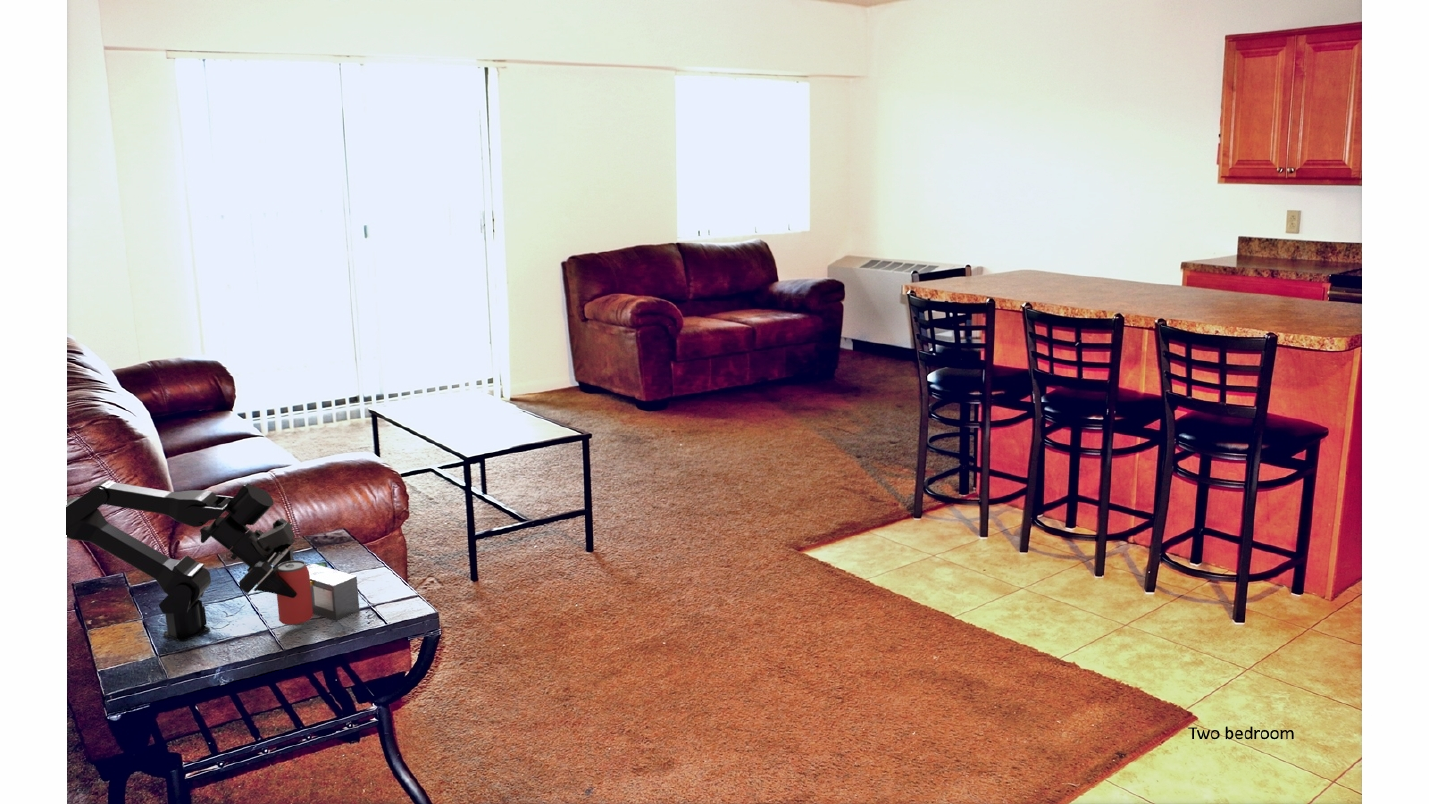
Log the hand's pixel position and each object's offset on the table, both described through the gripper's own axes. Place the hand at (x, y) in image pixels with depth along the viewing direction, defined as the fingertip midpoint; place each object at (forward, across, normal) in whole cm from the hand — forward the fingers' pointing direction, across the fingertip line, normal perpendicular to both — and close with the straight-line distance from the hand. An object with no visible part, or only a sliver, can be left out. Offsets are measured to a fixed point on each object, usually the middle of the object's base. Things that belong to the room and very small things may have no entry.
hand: (300, 589), depth 218 cm
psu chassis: (+8, +9, +5) cm, 13 cm away
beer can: (+4, 0, +6) cm, 7 cm away
